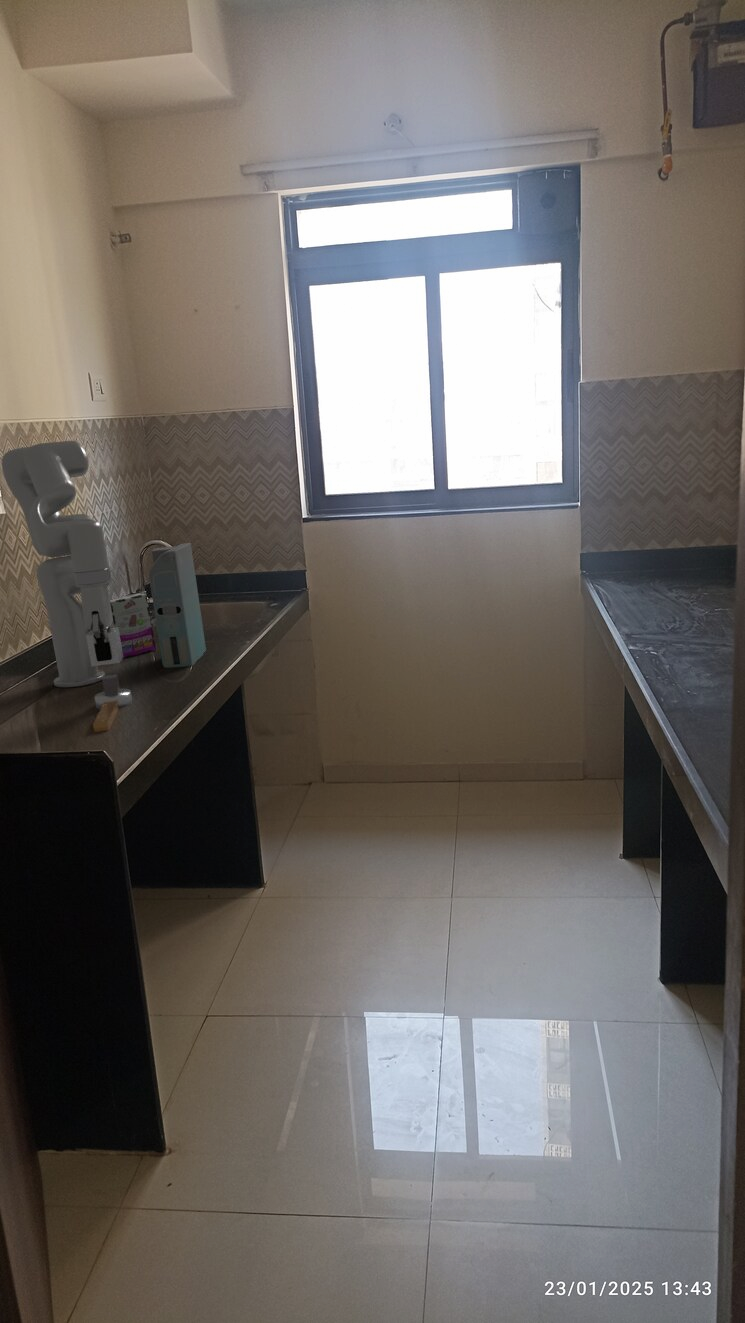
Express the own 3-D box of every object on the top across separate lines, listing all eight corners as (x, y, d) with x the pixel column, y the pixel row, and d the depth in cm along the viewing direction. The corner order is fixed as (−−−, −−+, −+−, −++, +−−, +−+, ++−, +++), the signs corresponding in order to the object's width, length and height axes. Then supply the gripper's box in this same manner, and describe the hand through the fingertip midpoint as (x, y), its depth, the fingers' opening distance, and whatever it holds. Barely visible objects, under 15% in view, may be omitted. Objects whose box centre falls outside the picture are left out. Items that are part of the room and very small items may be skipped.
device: (179, 653, 257) (162, 545, 249) (206, 651, 256) (190, 542, 249) (163, 668, 241) (145, 553, 234) (192, 666, 240) (175, 550, 233)
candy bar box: (148, 648, 267) (139, 592, 263) (156, 650, 263) (147, 593, 259) (112, 657, 260) (102, 600, 256) (120, 659, 256) (110, 601, 252)
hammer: (99, 701, 215) (94, 674, 213) (134, 697, 216) (129, 670, 214) (81, 734, 191) (76, 703, 190) (121, 728, 192) (116, 698, 190)
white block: (95, 660, 211) (90, 630, 210) (123, 656, 212) (118, 626, 210) (91, 666, 205) (85, 635, 204) (119, 662, 206) (114, 632, 204)
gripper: (82, 575, 212) (95, 651, 216) (68, 585, 195) (83, 668, 200) (115, 571, 213) (128, 647, 217) (104, 581, 196) (118, 663, 200)
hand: (106, 656), depth 208 cm, fingers closed on white block, 6 cm apart
